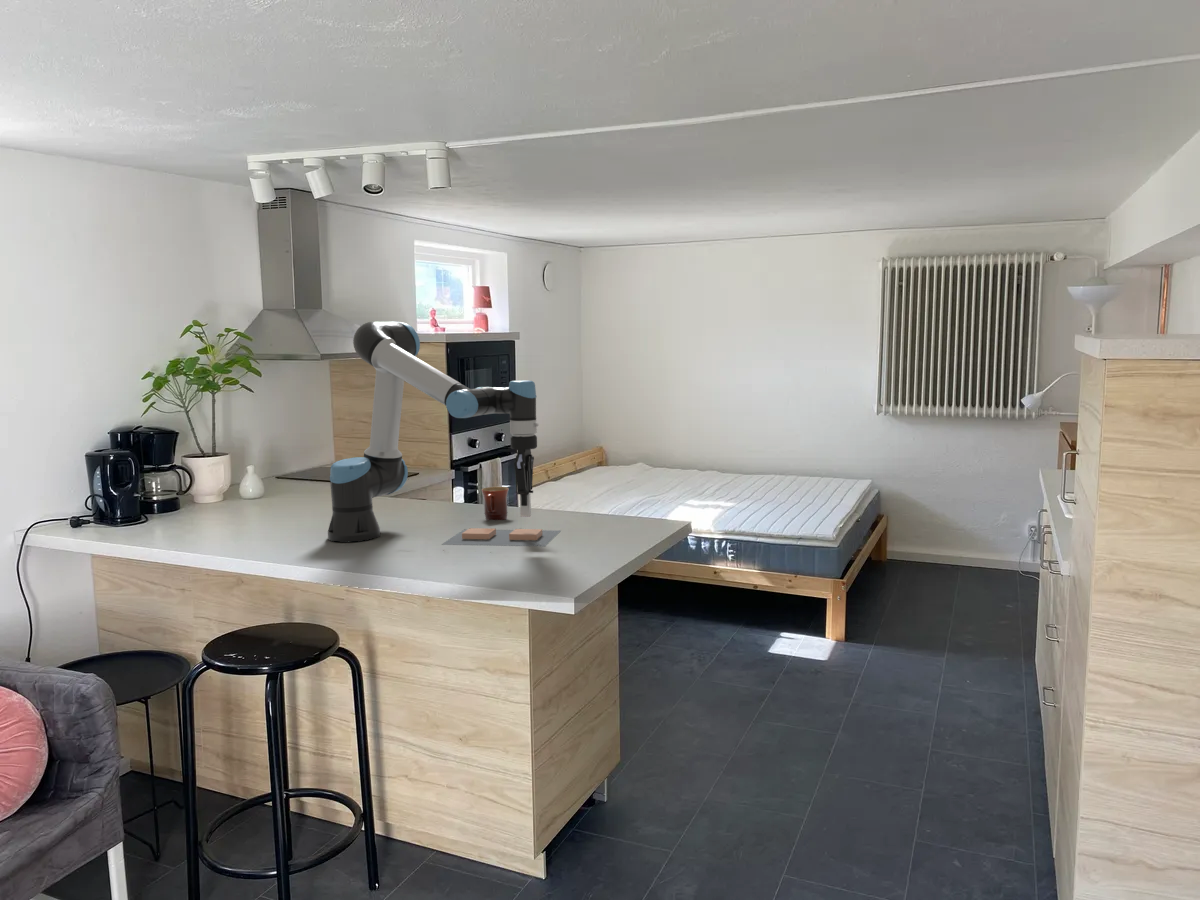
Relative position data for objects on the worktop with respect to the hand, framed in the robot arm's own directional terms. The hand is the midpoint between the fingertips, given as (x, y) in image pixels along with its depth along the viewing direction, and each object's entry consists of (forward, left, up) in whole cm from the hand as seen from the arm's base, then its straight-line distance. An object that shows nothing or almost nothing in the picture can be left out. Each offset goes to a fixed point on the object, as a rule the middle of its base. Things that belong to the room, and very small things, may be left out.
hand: (525, 516), depth 251 cm
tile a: (-14, +2, -5) cm, 15 cm away
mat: (-7, -1, -7) cm, 10 cm away
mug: (-18, +27, -8) cm, 33 cm away
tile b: (0, +2, -5) cm, 6 cm away
